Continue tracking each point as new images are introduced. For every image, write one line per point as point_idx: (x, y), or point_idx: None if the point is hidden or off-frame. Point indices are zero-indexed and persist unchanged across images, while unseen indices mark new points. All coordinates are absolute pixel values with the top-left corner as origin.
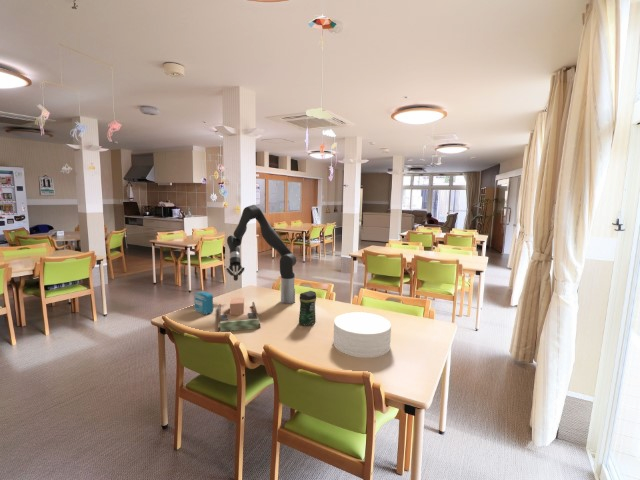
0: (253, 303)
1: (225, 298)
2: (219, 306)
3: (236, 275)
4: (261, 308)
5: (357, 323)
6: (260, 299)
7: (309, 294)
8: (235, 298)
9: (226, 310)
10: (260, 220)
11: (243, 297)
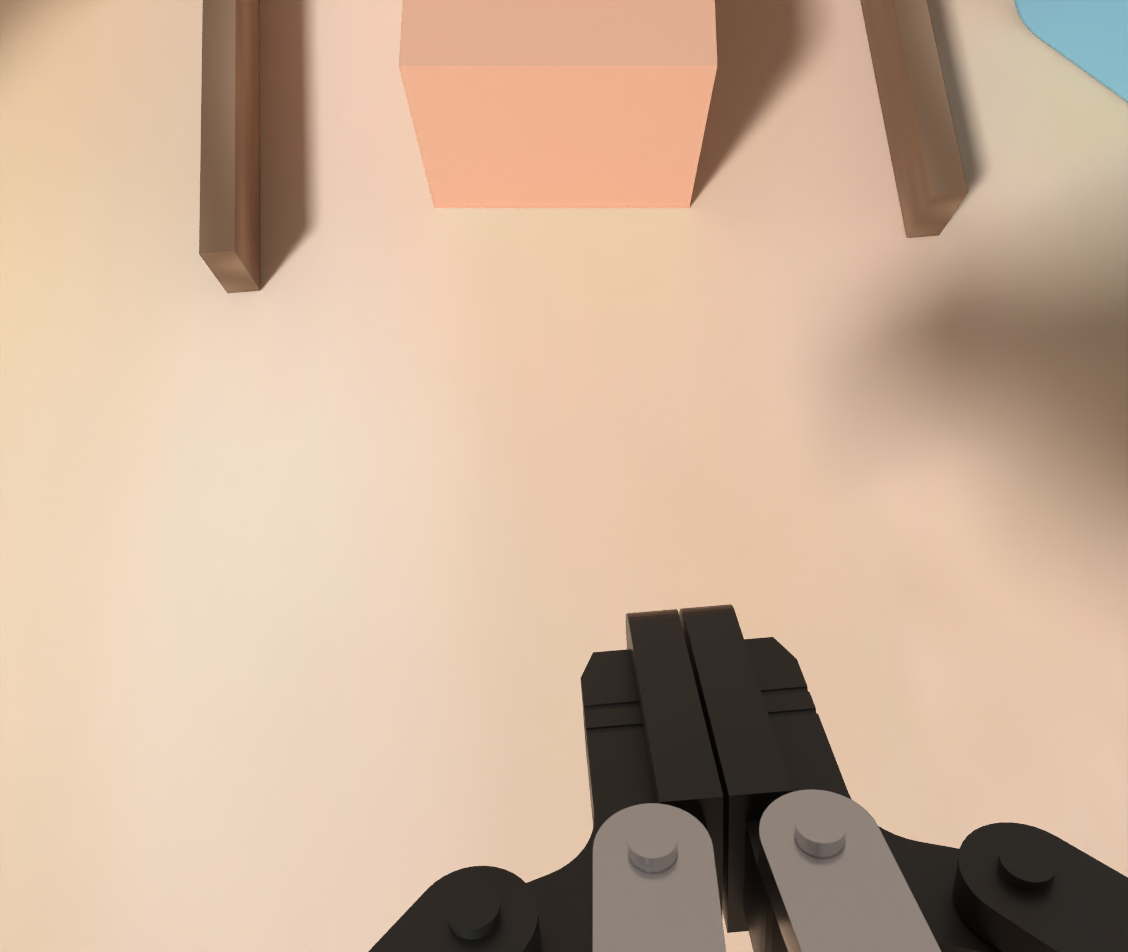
0: (221, 150)
1: None
2: (928, 56)
3: (669, 761)
4: (101, 116)
5: None
6: (24, 701)
7: None
8: (609, 3)
9: (769, 90)
10: None
11: (414, 53)
